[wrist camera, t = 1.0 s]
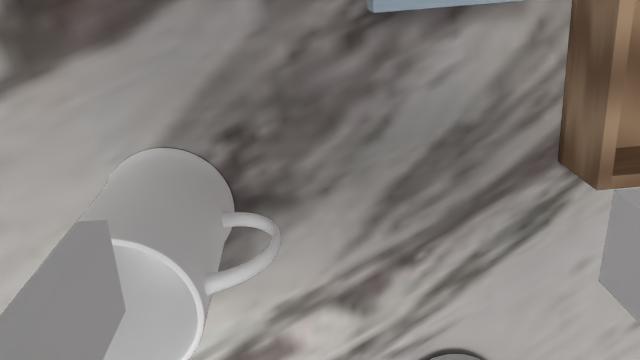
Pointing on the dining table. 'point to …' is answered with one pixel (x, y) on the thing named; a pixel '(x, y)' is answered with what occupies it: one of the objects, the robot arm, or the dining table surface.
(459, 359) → the can
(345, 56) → the dining table surface
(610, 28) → the carcass
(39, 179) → the dining table surface
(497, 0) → the door
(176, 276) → the mug
